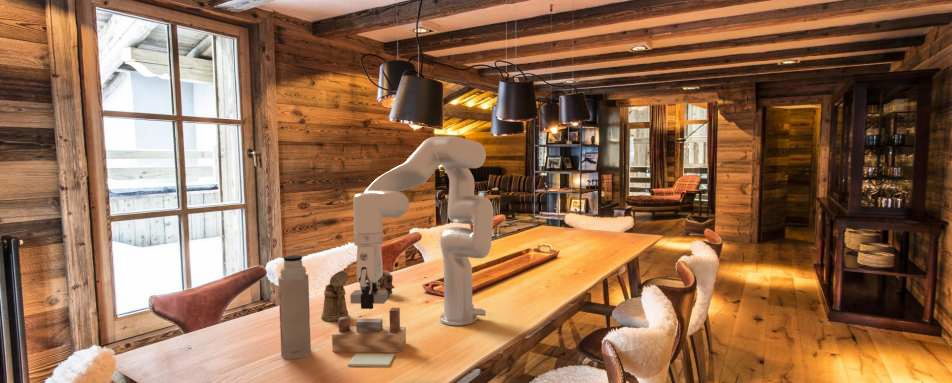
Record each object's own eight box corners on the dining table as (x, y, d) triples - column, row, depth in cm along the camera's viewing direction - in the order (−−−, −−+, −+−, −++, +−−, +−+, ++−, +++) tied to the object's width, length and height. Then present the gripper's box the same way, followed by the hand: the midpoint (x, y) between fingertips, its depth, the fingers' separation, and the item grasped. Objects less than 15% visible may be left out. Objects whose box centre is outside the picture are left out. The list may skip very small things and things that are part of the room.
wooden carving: (367, 292, 209) (366, 268, 208) (377, 290, 212) (376, 266, 211) (388, 300, 196) (387, 275, 195) (398, 298, 199) (397, 273, 198)
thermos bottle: (277, 359, 140) (273, 259, 138) (285, 348, 148) (282, 253, 146) (307, 358, 141) (303, 258, 139) (313, 347, 149) (310, 253, 147)
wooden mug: (328, 327, 166) (326, 273, 165) (318, 316, 178) (317, 265, 177) (355, 322, 171) (353, 269, 169) (344, 312, 182) (342, 262, 181)
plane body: (406, 343, 152) (405, 305, 151) (401, 352, 145) (400, 312, 144) (340, 342, 153) (339, 305, 152) (332, 351, 146) (331, 312, 145)
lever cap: (387, 298, 139) (387, 287, 139) (384, 303, 135) (383, 291, 135) (355, 298, 140) (355, 287, 140) (350, 303, 135) (350, 291, 135)
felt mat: (394, 356, 142) (394, 354, 142) (388, 366, 135) (388, 364, 135) (355, 355, 142) (355, 353, 142) (347, 366, 135) (347, 364, 135)
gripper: (374, 244, 128) (375, 315, 129) (389, 234, 144) (390, 297, 146) (345, 244, 128) (346, 315, 129) (363, 234, 145) (364, 297, 146)
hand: (369, 304), depth 137 cm, fingers closed on lever cap, 4 cm apart
